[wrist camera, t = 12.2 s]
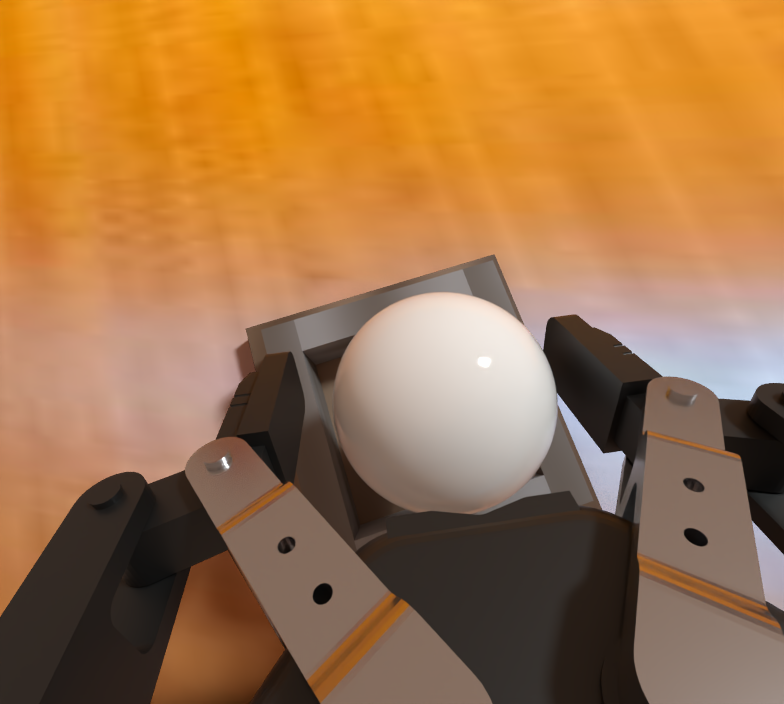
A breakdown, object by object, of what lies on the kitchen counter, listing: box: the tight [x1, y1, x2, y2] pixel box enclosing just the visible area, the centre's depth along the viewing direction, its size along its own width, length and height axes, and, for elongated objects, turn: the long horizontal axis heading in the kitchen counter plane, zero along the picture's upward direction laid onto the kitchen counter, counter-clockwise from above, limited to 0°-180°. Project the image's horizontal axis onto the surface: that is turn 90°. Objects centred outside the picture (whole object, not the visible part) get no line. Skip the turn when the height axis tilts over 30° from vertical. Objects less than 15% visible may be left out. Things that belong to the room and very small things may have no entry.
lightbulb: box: [332, 292, 558, 514], centre depth 14 cm, size 6×6×11 cm
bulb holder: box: [246, 255, 602, 552], centre depth 18 cm, size 14×14×4 cm
